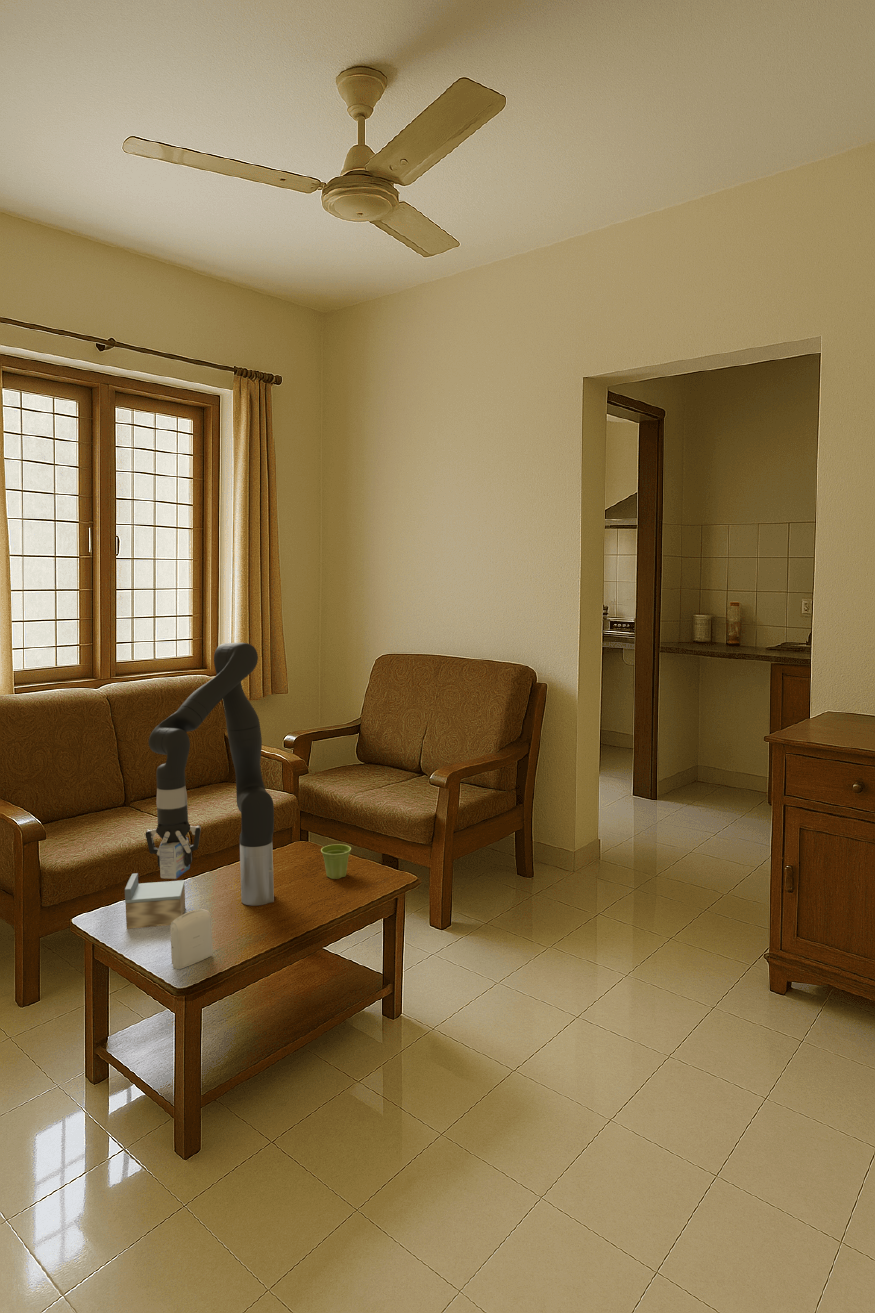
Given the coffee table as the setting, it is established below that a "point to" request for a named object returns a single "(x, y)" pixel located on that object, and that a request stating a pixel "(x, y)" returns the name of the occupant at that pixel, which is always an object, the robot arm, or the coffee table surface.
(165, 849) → the medicine box
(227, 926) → the coffee table surface
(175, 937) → the photo printer
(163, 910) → the wooden box
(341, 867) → the plant pot
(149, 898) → the lid
